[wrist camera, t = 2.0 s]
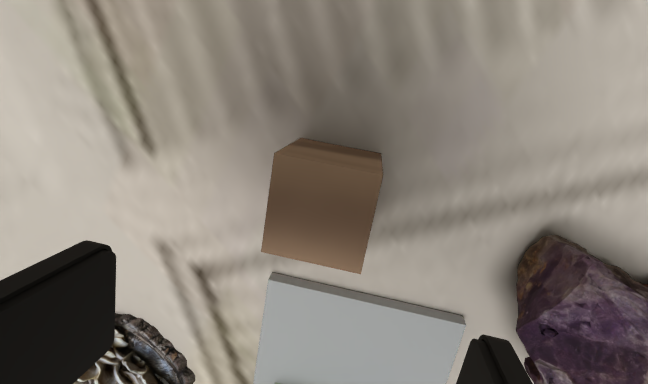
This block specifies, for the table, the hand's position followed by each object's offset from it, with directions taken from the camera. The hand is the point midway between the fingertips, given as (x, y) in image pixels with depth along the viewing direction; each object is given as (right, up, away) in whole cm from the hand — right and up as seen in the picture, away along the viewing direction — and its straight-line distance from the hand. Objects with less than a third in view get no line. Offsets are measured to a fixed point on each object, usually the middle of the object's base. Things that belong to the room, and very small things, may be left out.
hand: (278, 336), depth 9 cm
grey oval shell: (-15, -11, +20) cm, 27 cm away
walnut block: (+2, +4, +13) cm, 14 cm away
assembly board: (+2, -13, +18) cm, 22 cm away
